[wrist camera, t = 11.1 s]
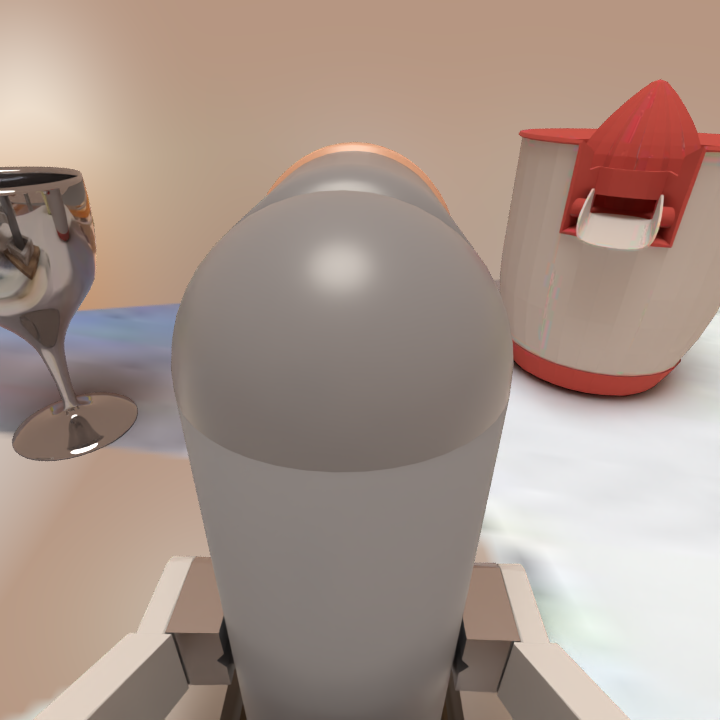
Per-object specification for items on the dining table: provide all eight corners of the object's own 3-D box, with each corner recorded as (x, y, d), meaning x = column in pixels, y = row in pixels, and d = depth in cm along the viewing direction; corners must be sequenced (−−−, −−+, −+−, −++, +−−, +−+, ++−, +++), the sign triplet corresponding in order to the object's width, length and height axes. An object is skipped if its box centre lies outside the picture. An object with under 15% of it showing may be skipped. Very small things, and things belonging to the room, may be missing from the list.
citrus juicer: (449, 387, 34) (492, 71, 24) (507, 309, 47) (550, 83, 37) (696, 461, 28) (894, 68, 18) (683, 346, 41) (793, 84, 31)
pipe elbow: (438, 888, 11) (656, 234, 3) (243, 882, 11) (5, 221, 3) (411, 583, 18) (461, 144, 10) (291, 580, 18) (251, 139, 10)
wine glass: (162, 390, 33) (109, 168, 26) (110, 466, 26) (18, 192, 19) (52, 388, 33) (-33, 165, 26) (-29, 465, 26) (-177, 189, 19)
